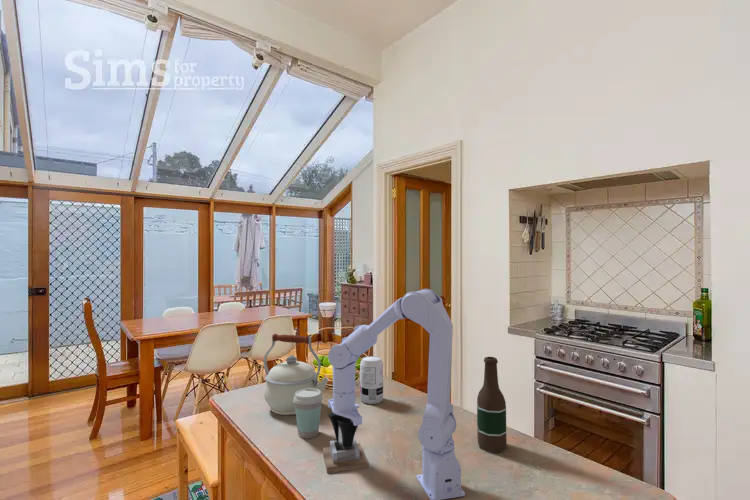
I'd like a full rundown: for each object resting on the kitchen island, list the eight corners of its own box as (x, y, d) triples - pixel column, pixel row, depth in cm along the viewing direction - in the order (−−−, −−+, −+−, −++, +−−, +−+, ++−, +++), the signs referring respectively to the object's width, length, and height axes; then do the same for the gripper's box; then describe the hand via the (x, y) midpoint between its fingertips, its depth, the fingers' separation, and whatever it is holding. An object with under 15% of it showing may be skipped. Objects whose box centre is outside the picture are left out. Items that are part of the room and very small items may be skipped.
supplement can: (357, 398, 141) (356, 357, 141) (377, 395, 144) (377, 354, 145) (365, 406, 133) (365, 362, 134) (387, 402, 137) (386, 360, 137)
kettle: (248, 413, 128) (248, 338, 128) (278, 394, 145) (278, 328, 146) (316, 423, 120) (315, 343, 120) (339, 402, 137) (339, 332, 138)
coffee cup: (327, 436, 111) (327, 394, 111) (298, 443, 107) (298, 399, 107) (316, 425, 119) (316, 385, 119) (289, 431, 114) (289, 390, 115)
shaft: (352, 453, 98) (352, 425, 98) (340, 455, 96) (341, 427, 96) (348, 447, 100) (348, 420, 101) (336, 450, 99) (336, 422, 99)
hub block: (367, 467, 94) (367, 452, 95) (326, 472, 92) (326, 457, 92) (359, 447, 104) (359, 434, 104) (322, 452, 102) (322, 438, 102)
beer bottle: (486, 455, 100) (485, 362, 100) (471, 441, 107) (470, 355, 108) (512, 451, 102) (511, 360, 102) (496, 438, 109) (495, 353, 110)
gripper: (372, 395, 95) (372, 451, 94) (344, 380, 107) (344, 429, 107) (347, 401, 91) (347, 459, 91) (320, 384, 103) (321, 435, 103)
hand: (344, 443), depth 98 cm, fingers closed on shaft, 3 cm apart
